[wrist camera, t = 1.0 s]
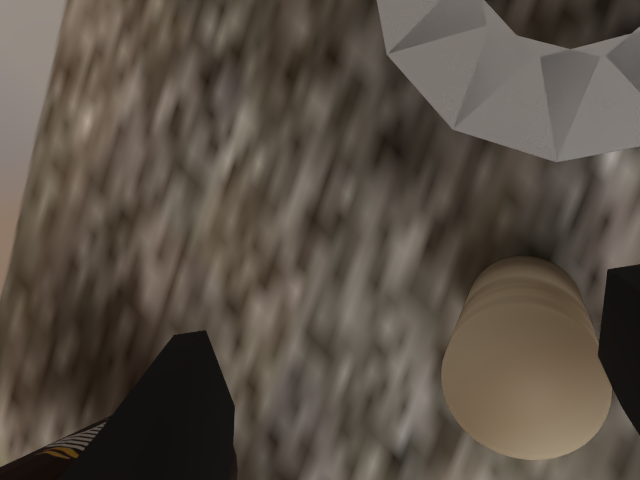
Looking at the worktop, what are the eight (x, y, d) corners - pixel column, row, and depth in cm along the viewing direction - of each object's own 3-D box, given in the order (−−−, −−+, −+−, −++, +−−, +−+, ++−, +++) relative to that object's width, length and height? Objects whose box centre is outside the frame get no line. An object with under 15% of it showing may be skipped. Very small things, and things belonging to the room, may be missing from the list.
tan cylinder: (608, 320, 19) (651, 408, 13) (514, 380, 21) (509, 486, 14) (532, 233, 20) (535, 275, 13) (445, 298, 21) (410, 364, 15)
